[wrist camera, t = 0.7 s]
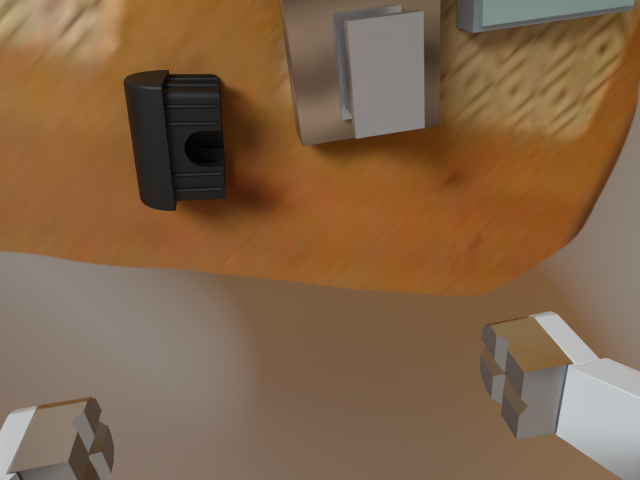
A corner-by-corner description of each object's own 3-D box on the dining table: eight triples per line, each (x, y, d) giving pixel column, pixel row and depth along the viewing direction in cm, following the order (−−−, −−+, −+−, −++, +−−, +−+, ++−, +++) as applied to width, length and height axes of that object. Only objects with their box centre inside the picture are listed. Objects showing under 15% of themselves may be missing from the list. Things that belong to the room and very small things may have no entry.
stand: (277, -14, 42) (282, -11, 38) (422, -33, 43) (440, -32, 39) (296, 132, 48) (302, 146, 44) (424, 112, 49) (439, 124, 45)
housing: (330, 12, 40) (347, 21, 34) (397, 3, 40) (423, 10, 35) (340, 116, 44) (356, 138, 38) (400, 107, 44) (424, 127, 39)
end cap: (130, 67, 43) (116, 85, 37) (218, 67, 44) (218, 85, 38) (146, 181, 48) (135, 213, 42) (225, 179, 49) (225, 209, 43)
